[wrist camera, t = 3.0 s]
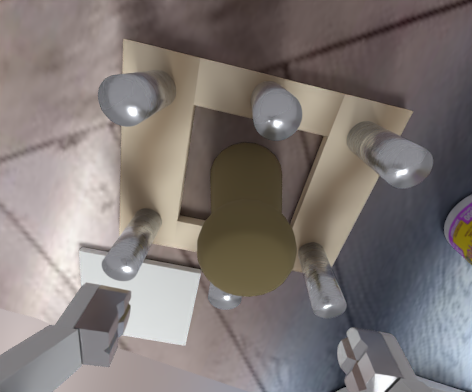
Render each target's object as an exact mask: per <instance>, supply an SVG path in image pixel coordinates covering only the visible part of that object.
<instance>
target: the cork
mask: <svg viewBox="0 0 472 392" xmlns="http://www.w3.org/2000/svg"><path fill="white" fill-rule="evenodd" d="M210 186H211V215H210V216H209V217H208V218H207V219H206V221H205V222H204V224H203V226H202V229H201V231H200V233H199V236H198V240H197V257H198V262H199V264H200V267H201V269H202V272H203V273H204V275H205V276H206V277H207V279H208V280H209V281H210V282H211V283H212V284H213V285H214V286H215V287H217V288H219V289H220V290H222V291H223V292H226V293H229V294H232V295H236V296H246V297H251V296H258V295H263V294H265V293H268V292H270V291H273V290H275V289H276V288H277V287H279V286H280V285H281V284H282V283H284V281H285V280H286V278H287V277H288V275H289V274H290V272H291V271H292V269H293V268H294V264H295V260H296V254H297V245H296V240H295V235H294V232H293V229H292V227H291V226H290V224H289V223H288V221H287V219H286V218H285V217H284V215H283V214H282V171H281V166H280V163H279V162H278V160H277V158H276V156H275V155H274V154H273V153H272V152H270V151H269V150H268V149H267V148H265V147H263V146H260V145H258V144H255V143H239V144H235V145H231V146H230V147H228V148H226V149H225V150H223V151H222V152H221V153H220V154H219V155H218V156H217V157H216V159H215V160H214V162H213V165H212V167H211V175H210Z"/></svg>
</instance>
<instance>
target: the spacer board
mask: <svg viewBox="0 0 472 392" xmlns="http://www.w3.org/2000/svg"><path fill="white" fill-rule="evenodd" d="M150 70H161V71H164V72H166V73H167V74H168V75H170V76H171V78H172V79H173V81H174V83H175V86H176V96H175V99H174V101H173V102H172V103H171V104H170V105H168V106H167V107H165V108H163V109H162V110H160V111H158V112H157V113H155V114H154V115H152V116H150V117H149V118H147V119H145V120H144V121H142V122H141V123H139V124H137V125H135V126H130V127H125V126H121V172H120V224H119V236H120V235H121V234H122V232H123V231H124V229H125V228H126V227H127V225H128V224H129V222H130V221H131V219H132V218H133V217H134V215H135V214H136V212H137V211H139V210H140V209H144V208H148V209H152V210H154V211H156V212H157V213H158V214H159V215H160V217H161V219H162V225H161V227H160V229H159V231H158V233H157V235H156V237H155V239H154V241H153V244H158V245H163V246H168V247H173V248H178V249H184V250H189V251H194V252H197V240H198V236H199V233H200V231H201V229H202V226H203V224H204V222H205V221H206V220H201V219H196V218H191V217H186V216H181V215H180V210H181V203H182V196H183V189H184V182H185V175H186V168H187V161H188V155H189V148H190V141H191V134H192V127H193V120H194V113H195V106H200V107H204V108H209V109H213V110H217V111H221V112H226V113H230V114H234V115H238V116H242V117H247V118H251V119H253V115H252V107H251V95H252V92H253V90H254V89H255V87H256V86H257V85H259V84H260V83H262V82H265V81H274V82H276V83H278V84H279V85H281V86H282V87H283V88H285V89H286V90H287V91H289V92H290V93H291V94H292V95H294V96H295V97H296V98H297V99H298V101H299V102H300V105H301V108H302V120H301V124H300V126H299V128H298V129H297V130H302V131H306V132H310V133H314V134H319V135H323V136H324V137H323V139H322V142H321V145H320V147H319V150H318V152H317V155H316V158H315V160H314V163H313V165H312V168H311V171H310V173H309V176H308V178H307V181H306V184H305V186H304V189H303V192H302V194H301V197H300V199H299V202H298V205H297V207H296V210H295V212H294V215H293V218H292V220H291V223H290V226H291V227H292V229H293V232H294V235H295V240H296V245H297V254H296V260H295V264H294V268H293V269H292V271H297V272H302V268H301V264H300V261H299V257H298V250H299V249H300V247H301V246H302V245H304V244H306V243H310V242H315V243H319V244H320V245H322V246H323V248H324V250H325V253H326V255H327V258H328V260H329V262H330V265H331V267H332V266H333V264H334V262H335V260H336V258H337V256H338V254H339V253H340V251H341V249H342V247H343V245H344V243H345V241H346V239H347V237H348V235H349V233H350V231H351V230H352V228H353V226H354V224H355V222H356V220H357V218H358V216H359V214H360V212H361V210H362V208H363V207H364V205H365V203H366V201H367V199H368V197H369V195H370V193H371V191H372V189H373V187H374V185H375V184H376V182H377V180H378V178H379V176H380V175H379V174H377V173H376V172H375V171H374V170H373V169H372V168H370V167H369V166H368V165H367V164H366V163H365V162H364V161H362V160H361V159H360V158H359V157H358V156H357V155H356V154H354V153H353V152H352V151H351V150H350V149H349V148H348V146H347V136H348V133H349V131H350V130H351V129H352V128H353V127H354V126H355V125H356V124H358V123H360V122H364V121H370V122H373V123H375V124H377V125H379V126H381V127H383V128H385V129H387V130H389V131H391V132H393V133H395V134H397V135H399V136H401V134H402V132H403V130H404V128H405V126H406V124H407V122H408V120H409V118H410V116H411V115H412V113H413V111H411V110H408V109H404V108H400V107H396V106H392V105H388V104H384V103H380V102H376V101H372V100H368V99H364V98H360V97H356V96H352V95H348V94H344V93H340V92H336V91H332V90H328V89H324V88H320V87H316V86H312V85H308V84H304V83H300V82H296V81H292V80H288V79H284V78H280V77H276V76H272V75H268V74H264V73H260V72H256V71H252V70H248V69H244V68H240V67H236V66H232V65H228V64H224V63H220V62H216V61H212V60H208V59H204V58H200V57H196V56H192V55H188V54H184V53H180V52H176V51H172V50H168V49H164V48H160V47H156V46H152V45H148V44H144V43H140V42H136V41H132V40H128V39H123V68H122V74H126V73H134V72H142V71H150ZM302 273H303V272H302Z"/></svg>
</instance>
